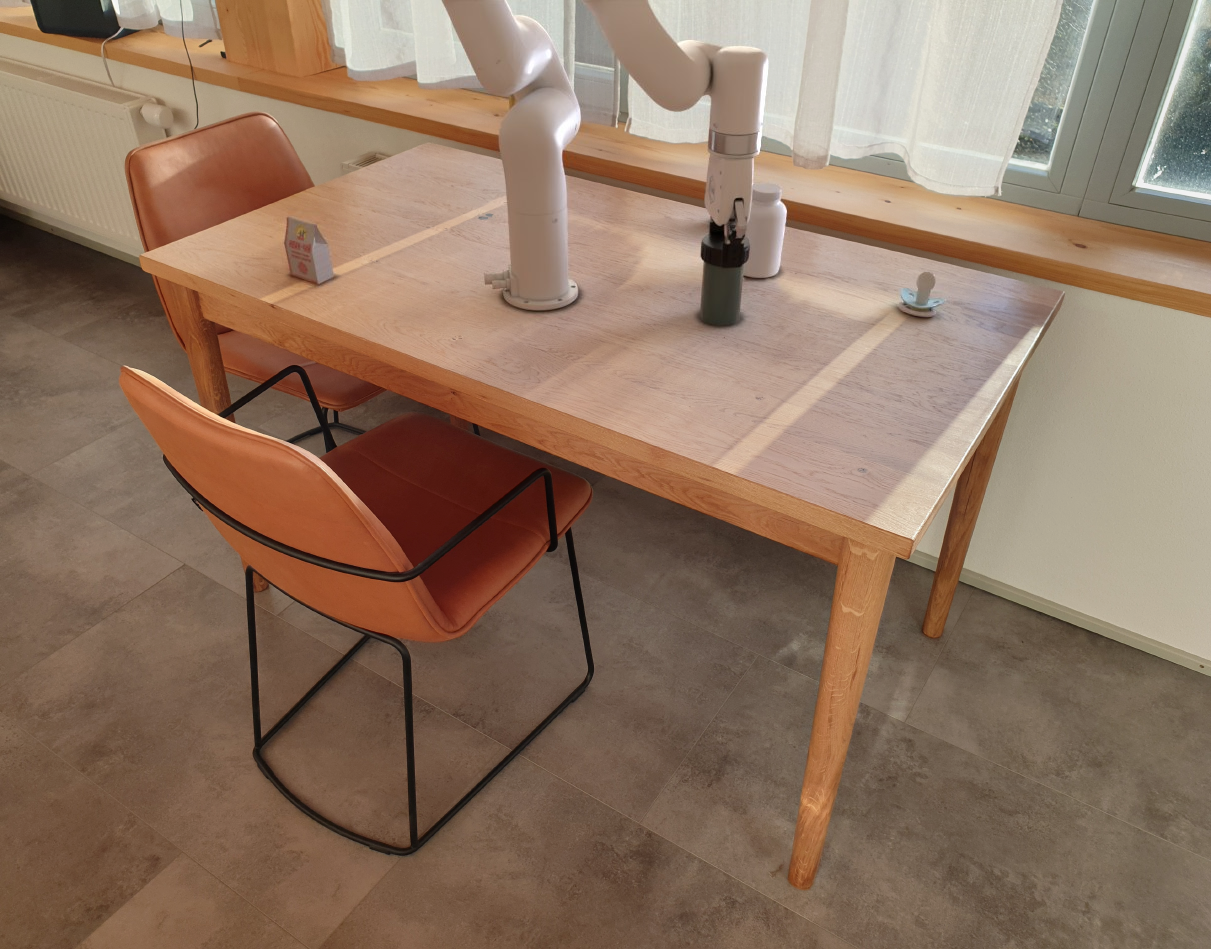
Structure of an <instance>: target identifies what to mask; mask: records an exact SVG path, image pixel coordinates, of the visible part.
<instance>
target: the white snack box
mask: <svg viewBox="0 0 1211 949" xmlns="http://www.w3.org/2000/svg"><path fill="white" fill-rule="evenodd" d="M283 244H284V249H285V253H286V259H287V264H288V268H289V273H290V276H292V277H295V278H298V279H301V280H304V281H307V282H311V283H314V284H316V285H319V284H322V283H324V282H326V281H328V280H330V279H332V278H334V277H335V274H334V268H333V264H332V258H331V252H330V246H329V244H328V242H327V240H326V239H325V238H324V236H323V234H322V233H321V231H320V229H319V228H318V225H317V224H315V223H312V222H310V221H309V222H308V221H306V220H301V219H299V218H294V217H291V216H287V217H286V228H285V235H284V242H283Z"/></svg>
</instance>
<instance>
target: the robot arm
mask: <svg viewBox="0 0 1211 949" xmlns="http://www.w3.org/2000/svg"><path fill="white" fill-rule="evenodd" d="M580 1H581V3H583V5H584V7H586V8H587V9H588V11H589V12H590V13H591V14H592V15H593V17H594V19H595V20H596V23H597V25H598V27H599V29H600V31H601V33H602V34H603V37H604V39H605V40H606V42H607V43H608V45H609V47H610V48H611V51H612V52H613V54H614V55H615V57H616V59H617V60H618V62H619V63H620V65H621V66H622V67H623V68H624V70H625V71H626V72H627V73H628V74H629V76H630V77H631V78H632V79H633V80H634V81H635V83H636V84H637V85H638V86H639V87H640V88H641V89H642V91H643V92H645V94H646V95H647V96H648V97H649V98H650V100H652V101H653V102H654V103H655V104H657V105H658V106H659V107H661V108H662V109H665V110H667V111H669V112H674V113H675V112H676V113H679V112H684V111H687V110H690V109H692V108H693V107H694V106H695V105H696V104H697V103H698V102H699V101H700V100H701V99H702V97H705V96H708V97H710V107H709V108H710V111H709V124H708V138H707V152H708V153H709V157H708V163H707V171H706V180H705V189H704V190H705V191H704V199H703V200H704V201H703V204H704V207H705V209H706V211H707V213H708V214H709V217H710V221H709V231H708V234H709V233H713V232H725V242H723V243H722V255H721V267H722V268H739V267H741V266H742V260H743V250H744V242H745V232H746V229H747V223H748V221H749V218H750V212H751V203H752V188H753V184H754V157H757V156H758V155H759V154H760V150H761V140H762V130H763V120H764V109H765V102H766V101H765V99H766V91H767V80H768V70H769V58H768V55H767V54H766V52H765V51H763V50H762V49H760V48H757V47H754V46H747V45H733V46H723V45H719V44H714V43H710V42H706V41H702V40H698V39H697V40H696V39H686V40H682V41H679V42H677V41H675V40H674V39H673V38H672V36H671V35H670V33H668V31H667V30H666V29H665V27H664V26H663V25H662V23H661V22H660V20H659V19H658V17H657V16H656V14H655V12H654V10H653V8H652V7H651V4H650V2H649V0H580ZM441 2H442V5H443V7H444V8H445V11H446V12H447V13H446V14H447V15H448V17H449V20H450V22H451V24H452V26H453V29H454V31H455V33H456V35H457V37H458V40H459V42H460V44H461V46H462V48H463V50H464V52H465V54H466V56H467V59H468V61H469V63H470V65H471V68H472V70H473V72H474V74H475V76H476V78H477V80H478V82H479V84H480V85H481V86H482V87H483V88H484V89H485V90H486V91H487V92H488V93H490V94H491V95H494V96H497V97H508V96H511V95H513V97H514V99H515V101H516V103H515V104H514V105H513V106H511V107H510V109H509V110H508V111H507V112H506V114H505V115H504V117H503V118H502V120H501V123H500V127H499V131H498V147H499V148H498V149H499V155H500V157H501V164H502V169H503V173H504V174H503V175H504V181H505V194H506V195H505V196H506V207H507V208H506V209H507V222H508V240H509V241H508V242H509V257H510V264H508V265H507V266H508V269H505V270H502V272H483V278H484V285H485V286H489V285H491V286H492V290H501V289H502V294H503V299H504V300H505V301H506V302H507V303H508V304H509V305H511V306H513V307H516V308H518V309H523V310H528V311H549V310H550V311H551V310H556V309H561V308H562V307H566V306H568V305H570V304H572V303H573V302H574V301H575V300H576V299H577V298H578V296H579V287H578V284H577V283H576V282H575V281H574V280H573V279H571V278H570V277H569V243H568V242H569V233H568V232H569V230H568V194H567V193H568V192H567V180H566V174H565V169H564V168H565V167H564V163H563V151H564V149H565V148H567V146H568V145H569V144H570V143H571V142H572V141H573V139H574V138H575V137H576V135H577V134H578V132H579V129H580V127H581V123H582V122H581V121H582V114H581V113H582V112H581V107H580V104H579V100H578V98H577V95H576V92H575V91H574V89H573V86H572V84H571V81H570V79H569V76H568V73H567V72H566V70H565V67H564V65H563V61H562V60H561V58H560V56H559V53H558V51H557V49H556V46H555V44H554V42H553V39H552V38H551V37H550V35H549V33H548V32H547V30H546V29H545V28H544V27H543V26H542V25H541V23H539V22H538V21H537V20H535V19H534V18H532V17H530V16H527V15H523V14H515V15H514V14H513V11H512V8H511V7H510V5H509V3H508V1H507V0H441ZM732 218H735V222H730V221H728V220H729V219H732ZM712 221H714V222H712ZM730 227H735V229H732V230H731V229H730ZM730 232H731V234H730Z"/></svg>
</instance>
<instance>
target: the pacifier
mask: <svg viewBox="0 0 1211 949" xmlns="http://www.w3.org/2000/svg"><path fill="white" fill-rule="evenodd" d="M936 282H937V280H936V276H935V274H933V272H930V271H924V272H922V273H920V274H919V275H918V277H917V279H916V287H917V291H914V290H912V289H910V288H907V287H903V288H901V290H900V293H899V294H900V298H901V300H902V301H899V302H898V303H897V305H896V306H897V308H898V309H899V310H900V311H902V312H904V313H906V314H908V315H912V316H916V317H921V318H930V317H934V316H936V315H937V311H936V310H935V308H936V307H939V306H942V305H943V304H944V303H946V301H947V299H946V298H930V297H931V292H932V290H933V289H934V288H935V286H936ZM906 306H908V307H906Z"/></svg>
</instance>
